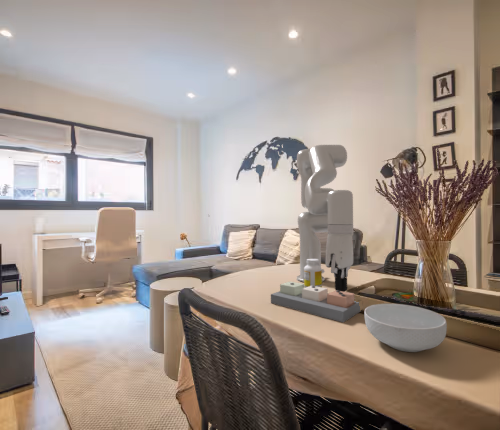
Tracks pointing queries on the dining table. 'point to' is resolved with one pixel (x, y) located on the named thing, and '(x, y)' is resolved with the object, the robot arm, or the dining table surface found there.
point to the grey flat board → (315, 306)
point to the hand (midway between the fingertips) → (341, 290)
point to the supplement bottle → (312, 273)
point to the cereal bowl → (405, 326)
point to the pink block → (340, 299)
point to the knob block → (291, 288)
